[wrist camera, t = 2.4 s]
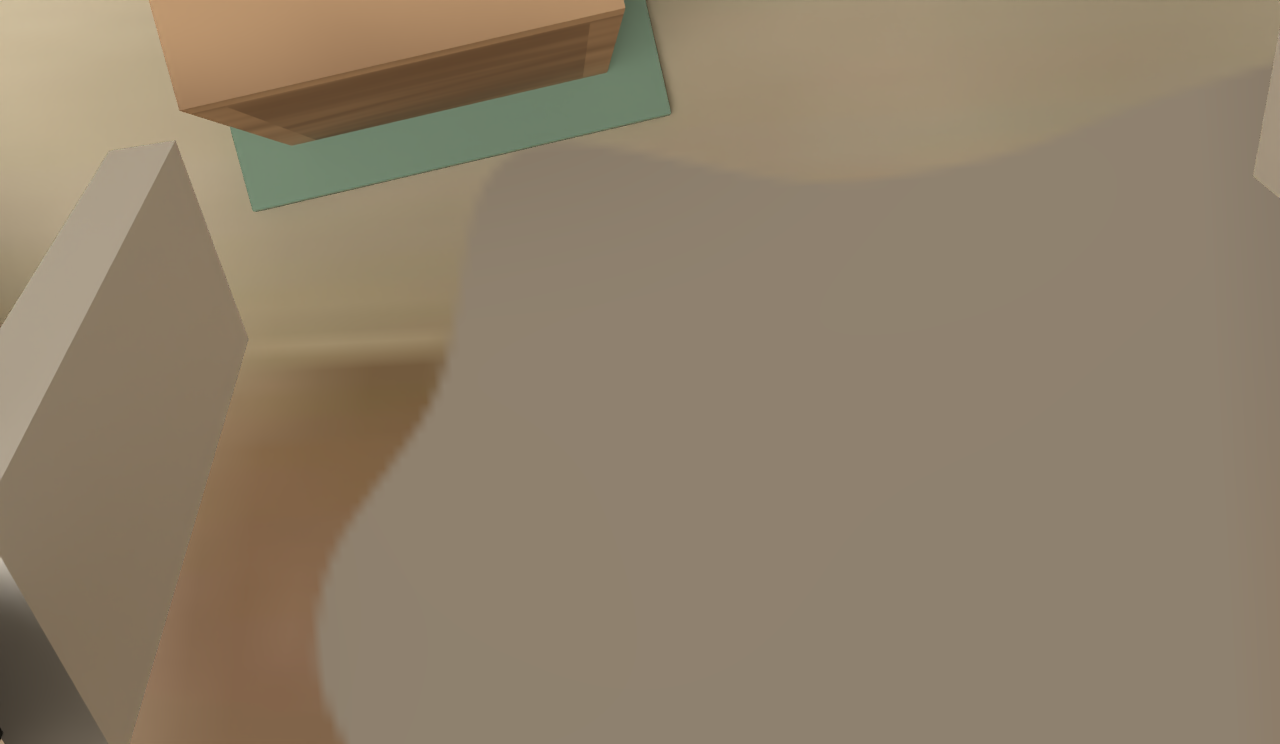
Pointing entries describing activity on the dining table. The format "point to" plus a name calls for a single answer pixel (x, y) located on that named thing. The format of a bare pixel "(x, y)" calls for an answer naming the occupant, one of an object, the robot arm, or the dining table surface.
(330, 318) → the dining table surface
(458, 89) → the wooden block
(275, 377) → the dining table surface
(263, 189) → the mat
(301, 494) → the dining table surface
